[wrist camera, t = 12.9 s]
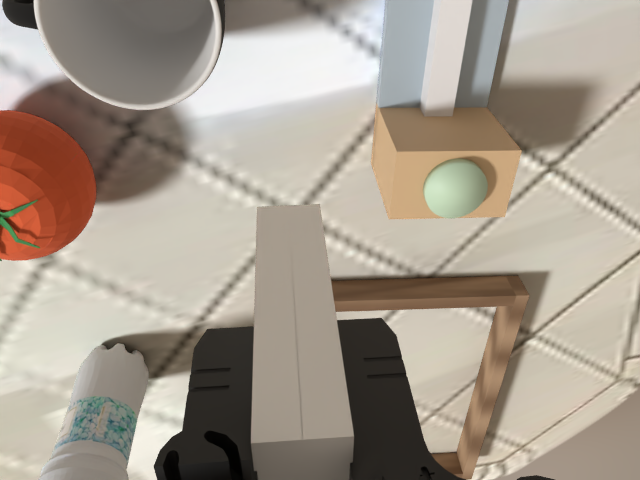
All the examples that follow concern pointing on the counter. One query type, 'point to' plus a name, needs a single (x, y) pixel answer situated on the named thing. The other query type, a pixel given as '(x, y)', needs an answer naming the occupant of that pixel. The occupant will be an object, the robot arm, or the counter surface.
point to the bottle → (100, 417)
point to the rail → (413, 51)
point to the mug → (129, 45)
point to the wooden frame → (453, 294)
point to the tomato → (41, 187)
